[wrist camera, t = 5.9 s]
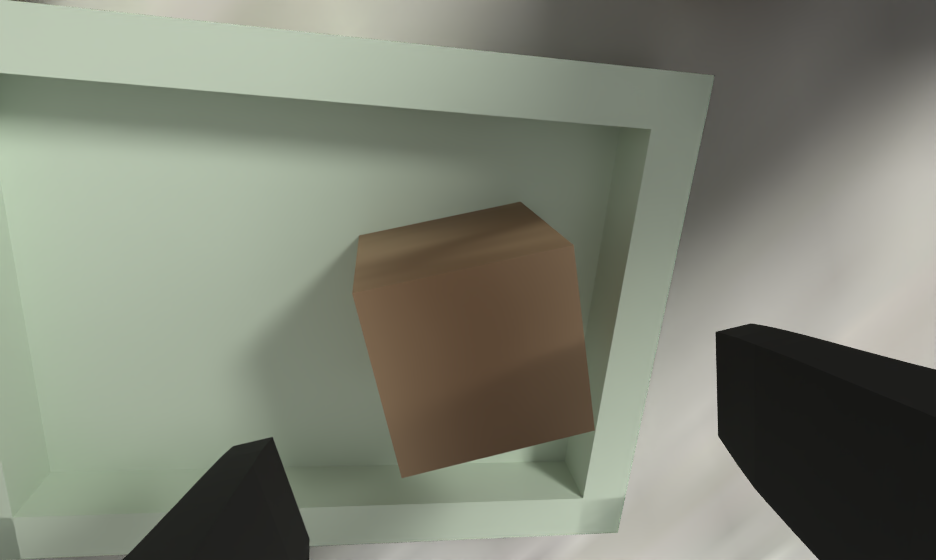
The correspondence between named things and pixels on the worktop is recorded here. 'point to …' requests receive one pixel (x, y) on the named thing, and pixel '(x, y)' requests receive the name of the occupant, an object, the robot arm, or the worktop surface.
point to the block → (473, 335)
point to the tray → (299, 265)
